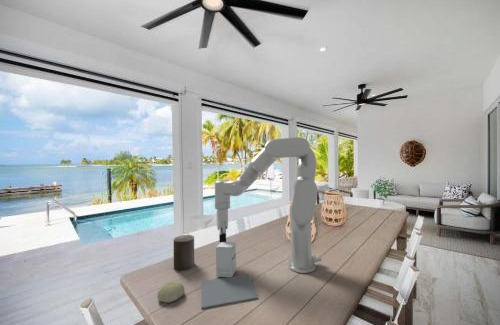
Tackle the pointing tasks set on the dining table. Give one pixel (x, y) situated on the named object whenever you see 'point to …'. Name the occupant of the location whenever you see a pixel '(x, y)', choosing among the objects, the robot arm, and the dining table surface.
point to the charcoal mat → (227, 291)
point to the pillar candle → (183, 252)
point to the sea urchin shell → (170, 291)
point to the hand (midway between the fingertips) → (222, 241)
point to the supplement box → (226, 259)
